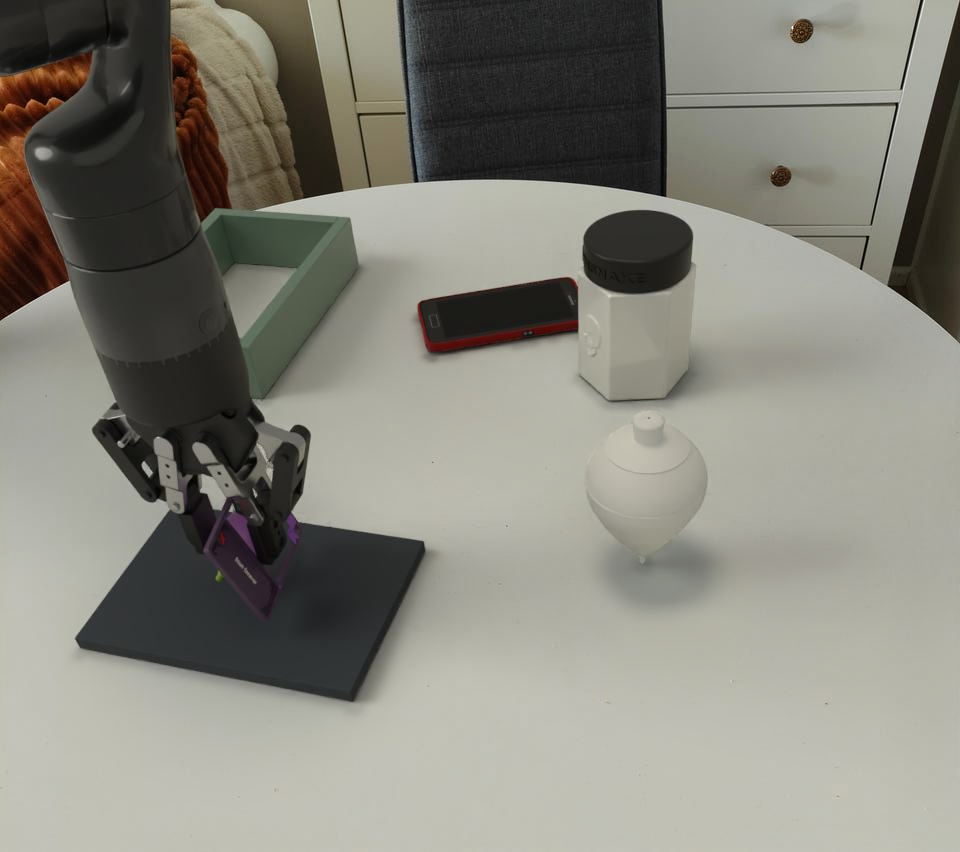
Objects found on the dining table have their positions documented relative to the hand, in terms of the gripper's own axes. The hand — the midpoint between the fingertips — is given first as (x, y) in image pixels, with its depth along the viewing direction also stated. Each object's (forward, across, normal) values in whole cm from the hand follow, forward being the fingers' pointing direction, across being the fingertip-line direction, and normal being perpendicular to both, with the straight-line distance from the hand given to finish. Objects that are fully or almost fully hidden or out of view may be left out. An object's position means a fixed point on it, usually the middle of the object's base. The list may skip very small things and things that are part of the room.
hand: (240, 550), depth 68 cm
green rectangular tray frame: (+5, +17, -33) cm, 37 cm away
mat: (+4, 0, 0) cm, 4 cm away
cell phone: (+5, -7, -37) cm, 38 cm away
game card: (+2, 0, 0) cm, 2 cm away
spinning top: (+5, -25, -9) cm, 27 cm away
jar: (+5, -20, -31) cm, 37 cm away
